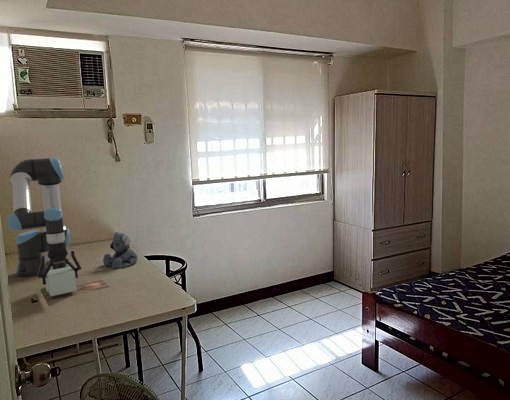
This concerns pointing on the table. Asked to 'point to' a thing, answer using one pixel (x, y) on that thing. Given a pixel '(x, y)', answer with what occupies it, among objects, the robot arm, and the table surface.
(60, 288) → the pale green block
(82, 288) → the board
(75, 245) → the table surface
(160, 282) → the table surface
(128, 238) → the koala plush
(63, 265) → the coffee can
